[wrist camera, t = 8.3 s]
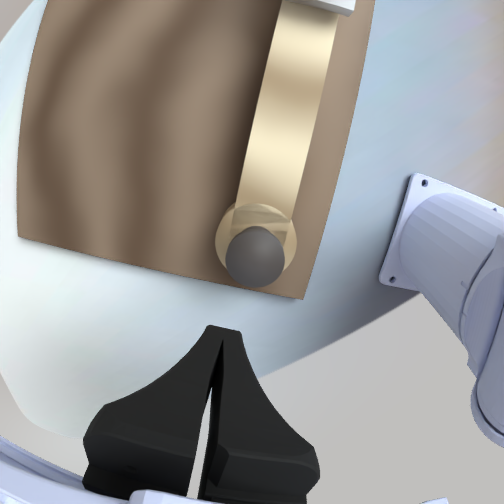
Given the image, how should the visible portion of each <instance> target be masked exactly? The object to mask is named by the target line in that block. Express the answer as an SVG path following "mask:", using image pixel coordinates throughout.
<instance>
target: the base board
mask: <svg viewBox="0 0 504 504" xmlns="http://www.w3.org/2000/svg"><path fill="white" fill-rule="evenodd" d="M285 1H290V2H295V3H299V4H304V5H308V6H312V7H316V8H320V9H323V10H327V11H331V12H334V13H337V14H339V17H338V22H337V27H336V32H335V36H334V41H333V46H332V50H331V55H330V59H329V64H328V68H327V73H326V77H325V82H324V86H323V91H322V95H321V99H320V104H319V108H318V112H317V116H316V121H315V125H314V129H313V133H312V137H311V142H310V146H309V150H308V154H307V158H306V162H305V166H304V170H303V174H302V178H301V182H300V186H299V190H298V194H297V198H296V202H295V206H294V210H293V214H292V217H291V220H292V223H293V226H294V229H295V233H296V237H297V247H296V252H295V255H294V258H293V259H292V261H291V263H290V264H289V266H288V267H287V268H286V269H285V270H284V271H282V273H281V275H280V276H279V277H278V278H277V280H275V281H274V282H273V283H271V284H269V285H267V286H264V287H258V288H252V287H247V286H244V285H241V284H240V283H238V282H237V281H235V280H234V279H233V278H232V277H231V276H230V274H229V272H228V270H227V269H226V268H225V266H224V265H223V264H222V262H221V261H220V259H219V257H218V255H217V252H216V247H215V237H216V232H217V229H218V227H219V224H220V222H221V220H222V217H223V215H224V214H225V212H226V211H227V209H228V208H229V207H230V206H231V205H232V204H234V203H235V202H236V199H237V194H238V189H239V185H240V180H241V175H242V171H243V166H244V161H245V157H246V152H247V148H248V143H249V139H250V134H251V130H252V125H253V121H254V116H255V112H256V108H257V103H258V99H259V94H260V90H261V86H262V82H263V77H264V73H265V69H266V65H267V60H268V56H269V52H270V48H271V44H272V40H273V36H274V32H275V27H276V23H277V19H278V15H279V11H280V7H281V4H282V0H48V2H47V5H46V8H45V11H44V14H43V17H42V21H41V24H40V27H39V31H38V35H37V38H36V42H35V46H34V50H33V55H32V59H31V64H30V68H29V73H28V78H27V84H26V89H25V96H24V102H23V109H22V117H21V125H20V135H19V147H18V163H17V229H18V236H19V237H22V238H26V239H30V240H34V241H38V242H41V243H45V244H49V245H53V246H57V247H61V248H65V249H69V250H73V251H77V252H81V253H85V254H89V255H93V256H97V257H102V258H106V259H110V260H114V261H119V262H123V263H127V264H131V265H136V266H140V267H145V268H149V269H154V270H158V271H163V272H167V273H172V274H176V275H181V276H186V277H190V278H195V279H200V280H205V281H209V282H214V283H219V284H224V285H229V286H234V287H239V288H244V289H249V290H254V291H259V292H264V293H270V294H275V295H280V296H286V297H291V298H296V299H302V300H303V298H304V295H305V292H306V289H307V285H308V282H309V279H310V276H311V272H312V269H313V266H314V263H315V259H316V256H317V252H318V249H319V246H320V242H321V239H322V235H323V232H324V228H325V225H326V221H327V217H328V214H329V210H330V207H331V203H332V199H333V195H334V192H335V188H336V184H337V180H338V176H339V172H340V168H341V164H342V160H343V156H344V152H345V148H346V144H347V140H348V136H349V131H350V127H351V123H352V118H353V114H354V109H355V105H356V100H357V96H358V91H359V86H360V81H361V76H362V71H363V66H364V61H365V56H366V51H367V45H368V40H369V34H370V29H371V23H372V17H373V11H374V5H375V0H285Z"/></svg>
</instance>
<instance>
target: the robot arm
mask: <svg viewBox="0 0 504 504" xmlns="http://www.w3.org/2000/svg"><path fill="white" fill-rule="evenodd" d="M424 179H425V181H426V182H425V185H424V186H422V181H423V180H424ZM493 208H494V210H493ZM392 276H394V279H393V280H391V281H389V279H390V278H391V277H392ZM379 281H380V282H381V283H382V284H384V285H389V286H394V287H399V288H404V289H409V290H414V291H419V292H421V293H422V294H423V295H424V296H425V298H426V299H427V300H428V301H429V302H430V303H431V305H432V306H433V307H434V308H435V309H436V311H437V312H438V313H439V314H440V316H441V317H442V318H443V319H444V321H445V322H446V323H447V324H448V326H449V327H450V328H451V330H453V332H454V333H455V335H456V336H457V337H458V339H459V340H460V341H461V342H462V344H463V345H464V346H465V348H466V350H467V351H468V355H469V359H468V363H467V365H468V366H469V368H470V369H471V370H472V372H473V373H474V375H475V376H476V378H477V380H476V382H475V385H474V387H473V390H472V394H471V410H472V414H473V417H474V420H475V422H476V424H477V425H478V427H479V428H480V430H481V431H482V432H483V433H484V435H485V436H487V437H488V438H489V439H490V440H491V441H493V442H494V443H496V444H497V445H499V446H501V447H503V448H504V208H502V207H500V206H498V205H496V204H494V203H491V202H489V201H487V200H485V199H482V198H480V197H478V196H475V195H473V194H471V193H468V192H466V191H464V190H461V189H459V188H456V187H454V186H451V185H449V184H446V183H444V182H441V181H438V180H436V179H433V178H431V177H428V176H425V175H422V174H420V173H414V174H413V175H412V176H411V178H410V181H409V185H408V188H407V192H406V195H405V199H404V202H403V205H402V209H401V212H400V215H399V218H398V222H397V225H396V228H395V231H394V234H393V237H392V240H391V243H390V246H389V249H388V252H387V255H386V257H385V260H384V263H383V266H382V268H381V271H380V274H379ZM211 387H212V394H211V408H210V423H209V434H208V442H207V447H206V452H205V458H204V464H203V470H202V475H201V481H200V486H199V492H198V497H197V499H193V498H188V497H186V496H187V492H188V488H189V483H190V478H191V474H192V470H193V465H194V460H195V456H196V451H197V445H198V440H199V433H200V428H201V422H202V417H203V413H204V410H205V407H206V403H207V400H208V397H209V394H210V391H211ZM83 445H84V448H85V452H86V455H87V458H88V461H89V465H88V468H87V470H86V472H85V475H84V477H82V476H80V475H77V474H74V473H72V472H70V471H68V470H65V469H63V468H61V467H59V466H57V465H54V464H52V463H50V462H48V461H46V460H44V459H42V458H40V457H38V456H36V455H34V454H32V453H30V452H28V451H26V450H25V449H23V448H21V447H19V446H17V445H16V444H14V443H12V442H10V441H9V440H7V439H5V438H3V437H2V436H0V504H307V501H306V500H307V499H306V494H307V493H308V492H309V491H310V490H311V489H312V487H314V486H315V484H316V483H317V482H318V480H319V479H320V468H319V463H318V459H317V456H316V453H315V450H314V447H313V446H312V445H311V444H310V443H308V442H307V441H306V440H305V439H304V438H302V437H301V436H300V435H299V434H298V433H296V432H295V431H294V430H293V429H292V428H291V427H290V426H289V425H288V423H287V422H285V420H284V419H283V418H282V416H281V415H280V414H279V413H278V412H277V411H276V409H275V408H274V406H273V405H272V404H271V402H270V401H269V399H268V398H267V396H266V394H265V393H264V391H263V389H262V388H261V386H260V384H259V382H258V380H257V378H256V376H255V374H254V372H253V369H252V367H251V365H250V362H249V359H248V357H247V354H246V351H245V347H244V344H243V339H242V334H241V333H240V331H236V330H231V329H227V328H222V327H218V326H213V325H208V326H207V327H206V329H205V331H204V332H203V334H202V336H201V337H200V338H199V340H198V341H197V342H196V344H195V345H194V346H193V347H192V348H191V349H190V351H189V352H188V353H187V354H186V355H185V356H184V357H183V358H182V359H181V360H180V361H179V362H178V363H177V364H176V365H175V366H173V367H172V368H171V369H170V370H169V371H167V372H166V373H165V374H164V375H162V376H161V377H159V378H158V379H156V380H155V381H154V382H152V383H151V384H149V385H147V386H146V387H144V388H142V389H140V390H138V391H136V392H134V393H132V394H130V395H129V396H126V397H124V398H121V399H119V400H116V401H114V402H111V403H108V404H105V405H104V406H103V407H102V408H101V409H100V411H99V412H98V413H97V415H96V416H95V417H94V419H93V420H92V422H91V423H90V425H89V427H88V429H87V431H86V434H85V436H84V438H83ZM420 504H449V503H448V500H447V498H446V497H444V498H439V499H434V500H429V501H426V502H423V503H420Z"/></svg>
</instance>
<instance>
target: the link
mask: <svg viewBox="0 0 504 504" xmlns="http://www.w3.org/2000/svg"><path fill="white" fill-rule="evenodd" d="M338 17H339V14H337V13H334V12H331V11H327V10H323V9H320V8H316V7H312V6H308V5H304V4H299V3H295V2H290V1H285V0H282V4H281V7H280V11H279V15H278V19H277V23H276V27H275V32H274V36H273V40H272V44H271V48H270V52H269V56H268V60H267V65H266V69H265V73H264V77H263V82H262V86H261V90H260V94H259V99H258V103H257V108H256V112H255V116H254V121H253V125H252V130H251V134H250V139H249V143H248V148H247V152H246V157H245V161H244V166H243V171H242V175H241V180H240V185H239V189H238V194H237V199H236V202H235V203H234V204H232V205H231V206H230V207H229V208H228V209H227V211H226V212H225V214H224V215H223V217H222V220H221V222H220V224H219V227H218V229H217V232H216V237H215V247H216V252H217V255H218V257H219V259H220V261H221V262H222V264H223V265H224V266H225V268H226V269H227V270H228V272H229V274H230V276H231V277H232V278H233V279H234V280H235V281H237V282H238V283H240V284H241V285H244V286H247V287H252V288H258V287H264V286H267V285H269V284H271V283H273V282H274V281H275V280H277V278H278V277H279V276H280V275H281V273H282V271H284V270H285V269H286V268H287V267H288V266H289V264H290V263H291V261H292V259H293V258H294V255H295V252H296V247H297V237H296V233H295V229H294V226H293V223H292V220H291V217H292V214H293V210H294V206H295V202H296V198H297V194H298V190H299V186H300V182H301V178H302V174H303V170H304V166H305V162H306V158H307V154H308V150H309V146H310V142H311V137H312V133H313V129H314V125H315V121H316V116H317V112H318V108H319V104H320V99H321V95H322V91H323V86H324V82H325V77H326V73H327V68H328V64H329V59H330V55H331V50H332V46H333V41H334V36H335V32H336V27H337V22H338Z"/></svg>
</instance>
